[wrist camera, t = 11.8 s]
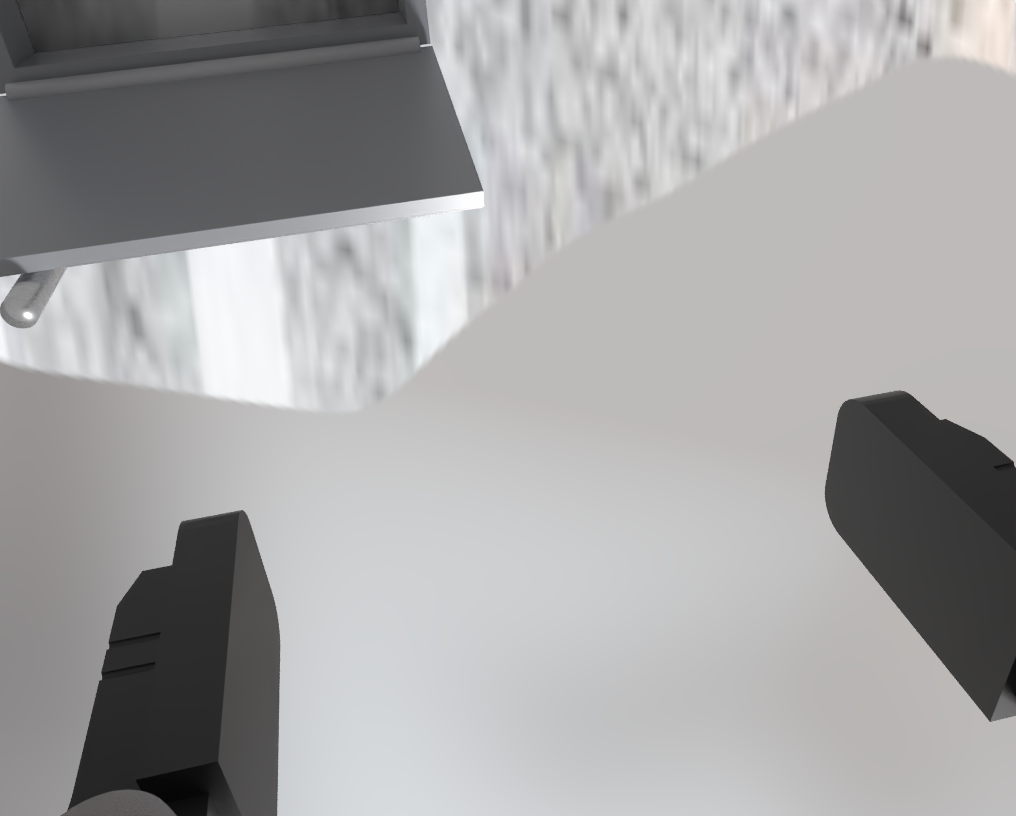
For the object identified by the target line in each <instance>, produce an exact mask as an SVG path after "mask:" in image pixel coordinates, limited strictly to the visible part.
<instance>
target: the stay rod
mask: <svg viewBox="0 0 1016 816" xmlns="http://www.w3.org/2000/svg"><path fill="white" fill-rule="evenodd" d="M66 268H67V267H65V268H58V269H51V270H44V271H37V272H30V273H23V274H21V275H20V277H19V278H18V280H17V281H16V283H15V284H14V286H13V287H12V289H11V290H10V292H9V293H8V295H7V296H6V298H5V299H4V301H3V303H2V304H1V307H0V313H1V316H2V318H3V319H4V320H5V321H6V322H7V323H8V324H10V325H11V326H14V327H17V328H28V327H31V326H33V325H34V324H35V323H36V322H37V321H38V319H39V317H40V315H41V313H42V312H43V310H44V308H45V306H46V304H47V303H48V301H49V299H50V297H51V295H52V294H53V292H54V290H55V288H56V286H57V285H58V283H59V281H60V279H61V277H62V276H63V274H64V272H65V270H66Z"/></svg>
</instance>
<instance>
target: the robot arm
mask: <svg viewBox="0 0 1016 816" xmlns="http://www.w3.org/2000/svg"><path fill="white" fill-rule="evenodd" d="M825 500H826V506H827V510H828V514H829V517H830V519H831V521H832V524H833V525H834V527H835V529H836V531H837V532H838V533H839V535H840V536H841V537H842V538H843V540H844V541H845V542H846V543H847V545H848V546H849V547H850V548H851V550H852V551H853V552H854V553H855V554H856V556H857V557H858V558H859V560H860V561H861V562H862V563H863V565H864V566H865V567H866V568H867V569H868V571H869V572H870V573H871V574H872V576H873V577H874V578H875V579H876V581H877V582H878V583H879V584H880V586H881V587H882V588H883V589H884V591H885V592H886V593H887V594H888V596H889V597H890V598H891V599H892V601H893V602H894V603H895V604H896V605H897V607H898V608H899V609H900V610H901V612H902V613H903V614H904V615H905V617H906V618H907V619H908V620H909V622H910V623H911V624H912V625H913V626H914V628H915V629H916V630H917V632H918V633H919V634H920V635H921V637H922V638H923V639H924V640H925V641H926V643H927V644H928V645H929V646H930V648H931V649H932V650H933V651H934V653H935V654H936V655H937V656H938V658H939V659H940V660H941V661H942V663H943V664H944V665H945V666H946V668H947V669H948V670H949V671H950V673H951V674H952V675H953V676H954V677H955V679H956V680H957V681H958V682H959V684H960V685H961V686H962V687H963V689H964V690H965V691H966V692H967V694H969V696H970V697H971V699H972V700H973V701H974V702H975V704H976V705H977V706H978V707H979V709H981V711H982V712H983V713H984V715H985V716H986V717H987V718H988V720H989V721H990V722H992V721H996V720H999V719H1003V718H1008V717H1012V716H1016V468H1015V466H1014V462H1013V461H1012V460H1011V459H1009V458H1008V457H1007V456H1006V455H1005V454H1004V453H1002V452H1001V451H1000V450H999V449H998V448H996V447H995V446H994V445H993V444H992V443H991V442H989V441H988V440H987V439H986V438H984V437H982V436H980V435H978V434H976V433H974V432H972V431H970V430H968V429H965V428H963V427H961V426H959V425H957V424H955V423H953V422H951V421H948V420H947V419H944V420H939V419H938V418H937V417H936V416H935V415H933V414H932V413H931V412H930V411H929V410H928V409H927V408H925V407H924V406H923V405H922V404H921V403H920V402H919V401H917V400H916V399H915V398H914V397H913V396H911V395H910V394H909V393H907V392H904V391H894V392H888V393H882V394H877V395H872V396H866V397H861V398H856V399H850V400H848V401H845V402H844V403H843V404H842V406H841V408H840V410H839V413H838V417H837V423H836V429H835V434H834V440H833V446H832V451H831V457H830V463H829V469H828V474H827V480H826V486H825ZM101 673H102V680H101V681H99V685H98V689H97V693H96V698H95V702H94V706H93V710H92V714H91V719H90V723H89V727H88V731H87V736H86V740H85V744H84V748H83V752H82V757H81V761H80V765H79V769H78V773H77V778H76V782H75V786H74V790H73V794H72V798H71V802H70V804H69V808H68V810H67V812H65V813H64V814H62V815H61V816H277V792H278V791H277V790H278V788H277V787H278V737H279V679H280V633H279V623H278V618H277V611H276V606H275V602H274V597H273V594H272V591H271V588H270V584H269V582H268V578H267V575H266V572H265V569H264V566H263V562H262V559H261V556H260V553H259V550H258V547H257V543H256V540H255V537H254V534H253V531H252V528H251V525H250V522H249V519H248V517H247V515H246V513H245V512H244V511H243V510H241V511H235V512H230V513H225V514H219V515H214V516H209V517H203V518H197V519H192V520H187V521H183V522H181V524H180V526H179V530H178V535H177V541H176V547H175V552H174V558H173V564H172V566H167V567H162V568H156V569H151V570H146V571H142V573H141V574H140V575H139V577H138V578H137V580H136V581H135V582H134V584H133V585H132V586H131V588H130V589H129V591H128V592H127V593H126V594H125V596H124V597H123V599H122V600H121V602H120V603H119V604H118V606H117V609H116V613H115V618H114V621H113V626H112V630H111V634H110V639H109V649H108V650H107V651H106V655H105V660H104V664H103V668H102V672H101Z"/></svg>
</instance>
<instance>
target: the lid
mask: <svg viewBox="0 0 1016 816" xmlns="http://www.w3.org/2000/svg"><path fill="white" fill-rule="evenodd" d="M5 91H6V95H7V96H0V277H2V276H9V275H16V274H23V273H30V272H37V271H44V270H51V269H58V268H65V267H72V266H79V265H86V264H93V263H100V262H107V261H114V260H121V259H128V258H135V257H142V256H149V255H156V254H162V253H169V252H176V251H183V250H190V249H197V248H204V247H211V246H218V245H225V244H232V243H239V242H246V241H253V240H260V239H267V238H274V237H281V236H288V235H295V234H302V233H309V232H316V231H323V230H329V229H336V228H343V227H350V226H357V225H364V224H371V223H378V222H385V221H392V220H399V219H406V218H413V217H420V216H427V215H434V214H441V213H448V212H455V211H462V210H469V209H476V208H483V207H484V194H483V189H482V186H481V183H480V180H479V177H478V174H477V172H476V169H475V166H474V163H473V160H472V157H471V155H470V152H469V149H468V146H467V143H466V141H465V138H464V135H463V132H462V129H461V126H460V124H459V121H458V118H457V115H456V112H455V109H454V107H453V104H452V101H451V98H450V95H449V92H448V90H447V87H446V84H445V81H444V78H443V75H442V73H441V70H440V67H439V64H438V61H437V58H436V56H435V53H434V50H433V47H432V46H428V47H420V42H419V38H418V36H416V37H407V38H399V39H390V40H381V41H372V42H364V43H355V44H346V45H338V46H329V47H320V48H312V49H303V50H294V51H286V52H277V53H268V54H259V55H251V56H242V57H233V58H225V59H216V60H207V61H199V62H190V63H181V64H172V65H164V66H155V67H146V68H138V69H129V70H120V71H112V72H103V73H94V74H86V75H77V76H68V77H59V78H51V79H42V80H33V81H25V82H16V83H7V84H6V85H5Z"/></svg>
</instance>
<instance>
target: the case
mask: <svg viewBox="0 0 1016 816" xmlns="http://www.w3.org/2000/svg"><path fill="white" fill-rule="evenodd" d="M398 5H399V12H398V13H389V14H380V15H371V16H362V17H353V18H344V19H335V20H326V21H317V22H308V23H299V24H290V25H281V26H272V27H263V28H254V29H245V30H236V31H227V32H218V33H209V34H200V35H191V36H182V37H173V38H164V39H155V40H146V41H137V42H128V43H119V44H110V45H101V46H92V47H83V48H74V49H65V50H56V51H47V52H38V53H35V51H34V49H33V46H32V43H31V40H30V37H29V35H28V32H27V29H26V26H25V23H24V21H23V18H22V15H21V12H20V9H19V7H18V4H17V1H16V0H0V94H3V93H6V91H5V85H6V84H7V83H16V82H25V81H33V80H42V79H51V78H59V77H68V76H77V75H86V74H94V73H103V72H112V71H120V70H129V69H138V68H146V67H155V66H164V65H172V64H181V63H190V62H199V61H207V60H216V59H225V58H233V57H242V56H251V55H259V54H268V53H277V52H286V51H294V50H303V49H312V48H320V47H329V46H338V45H346V44H355V43H364V42H372V41H381V40H390V39H399V38H407V37H416V36H418V38H419V42H420V45H423V44H430V36H429V27H428V18H427V9H426V1H425V0H398Z"/></svg>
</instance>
